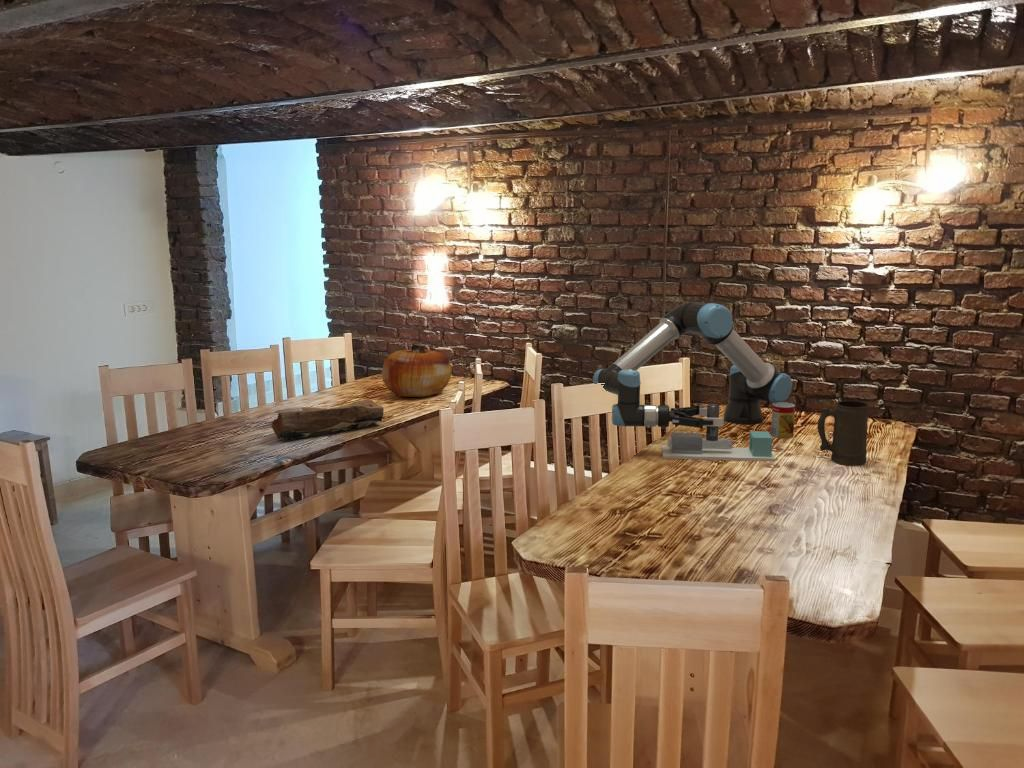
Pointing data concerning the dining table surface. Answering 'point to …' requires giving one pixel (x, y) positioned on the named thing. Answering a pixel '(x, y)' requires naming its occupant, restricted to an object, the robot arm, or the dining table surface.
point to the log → (326, 420)
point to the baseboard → (717, 455)
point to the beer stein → (846, 432)
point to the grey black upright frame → (712, 433)
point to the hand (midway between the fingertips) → (721, 417)
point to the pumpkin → (416, 372)
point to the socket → (760, 444)
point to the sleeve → (686, 443)
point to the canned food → (782, 420)
